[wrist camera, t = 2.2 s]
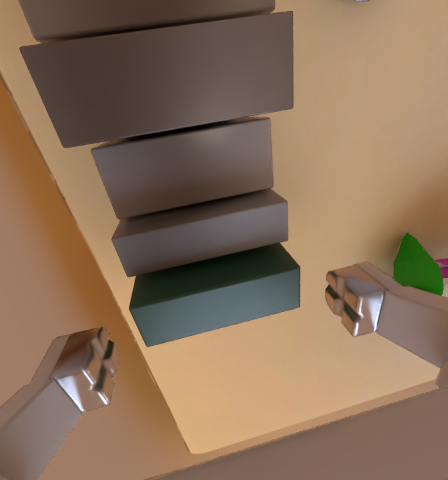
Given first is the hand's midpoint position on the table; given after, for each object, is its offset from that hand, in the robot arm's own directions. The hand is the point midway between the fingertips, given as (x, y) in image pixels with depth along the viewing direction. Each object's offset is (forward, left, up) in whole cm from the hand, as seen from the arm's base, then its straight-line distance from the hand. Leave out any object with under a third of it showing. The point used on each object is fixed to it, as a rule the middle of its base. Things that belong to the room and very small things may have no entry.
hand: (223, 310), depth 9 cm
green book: (0, 0, -12) cm, 12 cm away
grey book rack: (-4, -2, -13) cm, 14 cm away
